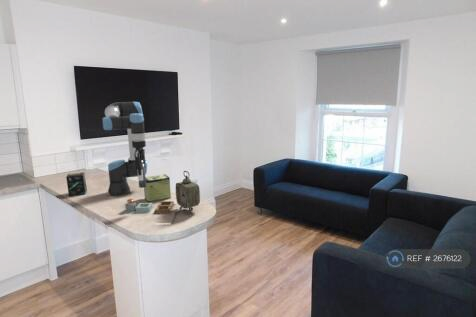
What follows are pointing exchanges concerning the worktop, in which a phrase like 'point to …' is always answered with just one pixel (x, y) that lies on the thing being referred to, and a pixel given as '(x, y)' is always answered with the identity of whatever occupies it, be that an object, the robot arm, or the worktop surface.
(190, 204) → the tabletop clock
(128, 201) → the release plunger
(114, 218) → the worktop surface
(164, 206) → the tray
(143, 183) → the dark grey cylinder
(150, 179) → the protein box
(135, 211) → the socket block
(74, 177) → the tampon box
